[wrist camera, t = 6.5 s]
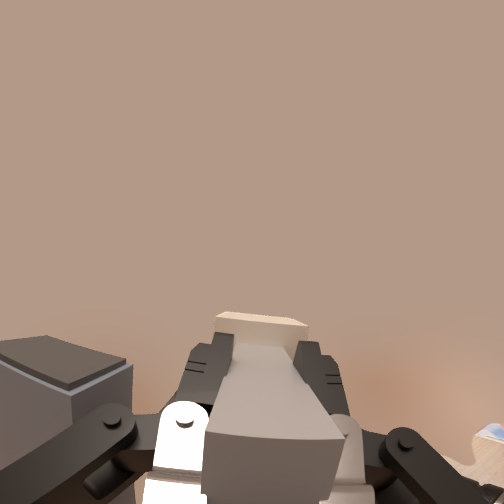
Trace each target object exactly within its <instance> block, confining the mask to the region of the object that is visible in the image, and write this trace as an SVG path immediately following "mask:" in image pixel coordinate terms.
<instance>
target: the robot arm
mask: <svg viewBox="0 0 504 504" xmlns="http://www.w3.org/2000/svg"><path fill="white" fill-rule="evenodd" d="M233 344H234V334H230V333H222V332H215V333H214V336H213V340H212V344H204V343H199V344H198V345H197V346H196V347H194V348H193V349H192V350H191V352H190V356H189V358H188V362H187V364H186V367H185V371H184V373H183V376H182V379H181V381H180V385H179V387H178V390H177V393H176V396H175V399H174V402H173V403H172V404H171V405H169V406H168V407H166V408H165V409H164V411H163V412H160V413H156V414H147V415H133V413H132V411H131V410H130V409H129V408H127V407H126V406H124V405H122V404H118V403H107V404H104V405H101V406H99V407H98V408H96V409H95V410H93V411H92V412H90V413H89V414H87V415H86V416H84V417H83V418H82V419H80V420H79V421H77V422H76V423H74V424H73V425H71V426H70V427H68V428H67V429H65V430H64V431H62V432H60V433H59V434H57V435H56V436H54V437H53V438H51V439H50V440H48V441H47V442H45V443H44V444H42V445H40V446H39V447H37V448H36V449H34V450H33V451H31V452H29V453H28V454H26V455H25V456H23V457H21V458H20V459H18V460H17V461H15V462H13V463H12V464H10V465H8V466H7V467H5V468H4V469H2V470H0V504H108V503H109V502H111V501H112V500H113V499H114V498H116V497H117V496H118V495H119V494H121V493H122V492H123V491H124V490H125V489H127V488H128V487H129V486H130V485H131V484H132V483H134V482H135V481H136V480H137V479H138V478H139V477H140V476H142V475H143V474H144V473H145V472H148V474H147V478H146V484H145V490H144V498H143V504H207V501H206V495H202V494H200V485H201V470H202V455H203V442H204V431H205V428H206V425H207V422H208V420H209V417H210V414H211V411H212V409H213V406H214V403H215V400H216V398H217V395H218V392H219V389H220V386H221V384H222V381H223V378H224V376H225V377H226V376H227V373H228V370H229V367H230V364H231V361H232V356H233ZM293 365H294V367H295V368H296V370H297V371H298V373H299V374H300V376H301V378H302V379H303V381H304V382H305V384H308V385H309V387H310V388H311V390H312V391H313V392H314V394H315V395H316V397H317V398H318V400H319V401H320V403H321V404H322V406H323V407H324V408H325V410H326V411H327V413H328V414H329V416H330V417H331V419H332V420H333V421H334V423H335V424H336V426H337V427H338V429H339V430H340V432H341V433H342V434H343V436H344V437H345V443H344V447H343V451H342V455H341V459H340V463H339V466H338V470H337V473H336V477H335V480H334V484H333V487H332V490H331V493H330V497H329V500H325V501H319V503H318V504H490V503H489V502H488V501H487V500H486V499H485V498H484V497H483V496H482V495H481V494H480V493H479V492H478V491H477V490H476V489H475V488H474V487H473V486H472V485H471V484H470V483H469V482H467V481H466V480H465V479H464V478H463V477H462V476H461V475H460V474H459V473H458V472H457V471H456V470H455V469H454V468H453V467H452V466H451V465H450V464H449V463H448V462H447V461H446V460H445V459H444V458H443V457H442V456H441V455H440V454H439V453H438V452H437V451H435V450H434V449H433V448H432V447H431V446H430V445H429V444H428V443H427V442H426V441H425V440H424V439H423V438H422V437H421V436H420V435H419V434H418V433H417V432H416V431H414V430H412V429H409V428H406V427H399V428H396V429H393V430H392V431H390V432H389V433H388V435H382V434H378V433H373V432H369V431H366V430H363V429H361V427H360V425H359V423H358V422H357V421H356V420H355V419H353V418H351V417H350V413H349V409H348V404H347V400H346V396H345V392H344V388H343V385H342V380H341V377H340V372H339V368H338V364H337V363H336V362H335V361H334V359H333V358H332V357H331V356H329V355H321V351H320V347H319V343H318V342H313V341H298V344H297V348H296V352H295V356H294V360H293Z"/></svg>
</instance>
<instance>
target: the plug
mask: <svg viewBox="0 0 504 504" xmlns="http://www.w3.org/2000/svg"><path fill="white" fill-rule="evenodd" d="M308 330H309V326H307V325H305V324H303V323H301V322H299V321H296V320H294V319H292V318H285V317H273V316H264V315H255V314H245V313H237V312H229V311H225V312H223V313H221V314H219V315H217V316H215V323H214V332H213V336H214V333H215V332H222V333H230V334H234V344H233V356H232V361H231V364H230V367H229V370H228V373H227V376H226V377H225V376H224V378H223V381H222V384H221V386H220V389H219V392H218V395H217V398H216V400H215V403H214V406H213V409H212V411H211V414H210V417H209V420H208V422H207V425H206V428H205V431H204V442H203V455H202V470H201V485H200V494H202V495H206V501H207V504H318V503H319V501H325V500H329V497H330V493H331V490H332V487H333V484H334V480H335V477H336V473H337V470H338V466H339V463H340V459H341V455H342V451H343V447H344V443H345V437H344V436H343V434H342V433H341V432H340V430H339V429H338V427H337V426H336V424H335V423H334V421H333V420H332V419H331V417H330V416H329V414H328V413H327V411H326V410H325V408H324V407H323V406H322V404H321V403H320V401H319V400H318V398H317V397H316V395H315V394H314V392H313V391H312V390H311V388H310V387H309V385H308V384H305V382H304V381H303V379H302V378H301V376H300V374H299V373H298V371H297V370H296V368H295V367H294V365H293V360H294V356H295V352H296V348H297V344H298V341H307V338H308Z"/></svg>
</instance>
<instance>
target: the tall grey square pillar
mask: <svg viewBox="0 0 504 504" xmlns="http://www.w3.org/2000/svg"><path fill="white" fill-rule="evenodd" d="M132 384H133V364H129V363H126V359H125V358H121V357H117V356H113V355H109V354H105V353H102V352H98V351H94V350H91V349H88V348H84V347H81V346H77V345H74V344H71V343H68V342H65V341H62V340H59V339H56V338H53V337H50V336H47V335H46V336H38V337H31V338H22V339H14V340H5V341H0V470H2V469H4V468H5V467H7V466H8V465H10V464H12V463H13V462H15V461H17V460H18V459H20V458H21V457H23V456H25V455H26V454H28V453H29V452H31V451H33V450H34V449H36V448H37V447H39V446H40V445H42V444H44V443H45V442H47V441H48V440H50V439H51V438H53V437H54V436H56V435H57V434H59V433H60V432H62V431H64V430H65V429H67V428H68V427H70V426H71V425H73V424H74V423H76V422H77V421H79V420H80V419H82V418H83V417H84V416H86V415H87V414H89V413H90V412H92V411H93V410H95V409H96V408H98V407H99V406H101V405H104V404H107V403H118V404H122V405H124V406H126V407H127V408H129V409H130V410H131V411H132ZM108 504H136V501H135V490H134V483H132V484H131V485H130V486H129V487H128V488H127V489H125V490H124V491H123V492H122V493H121V494H119V495H118V496H117V497H116V498H114V499H113V500H112V501H111V502H109V503H108Z"/></svg>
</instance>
